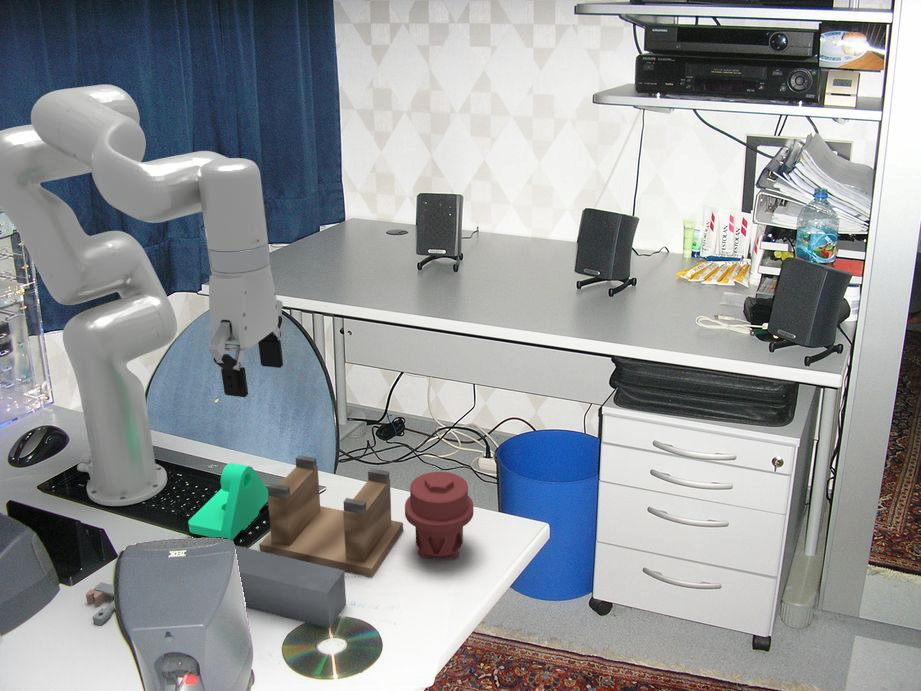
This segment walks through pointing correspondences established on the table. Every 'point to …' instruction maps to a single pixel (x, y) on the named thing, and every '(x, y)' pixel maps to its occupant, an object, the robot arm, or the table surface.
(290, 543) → the rack
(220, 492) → the camera mount
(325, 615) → the matte grey brick
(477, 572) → the table surface
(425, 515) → the mechanical component
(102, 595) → the clamp
